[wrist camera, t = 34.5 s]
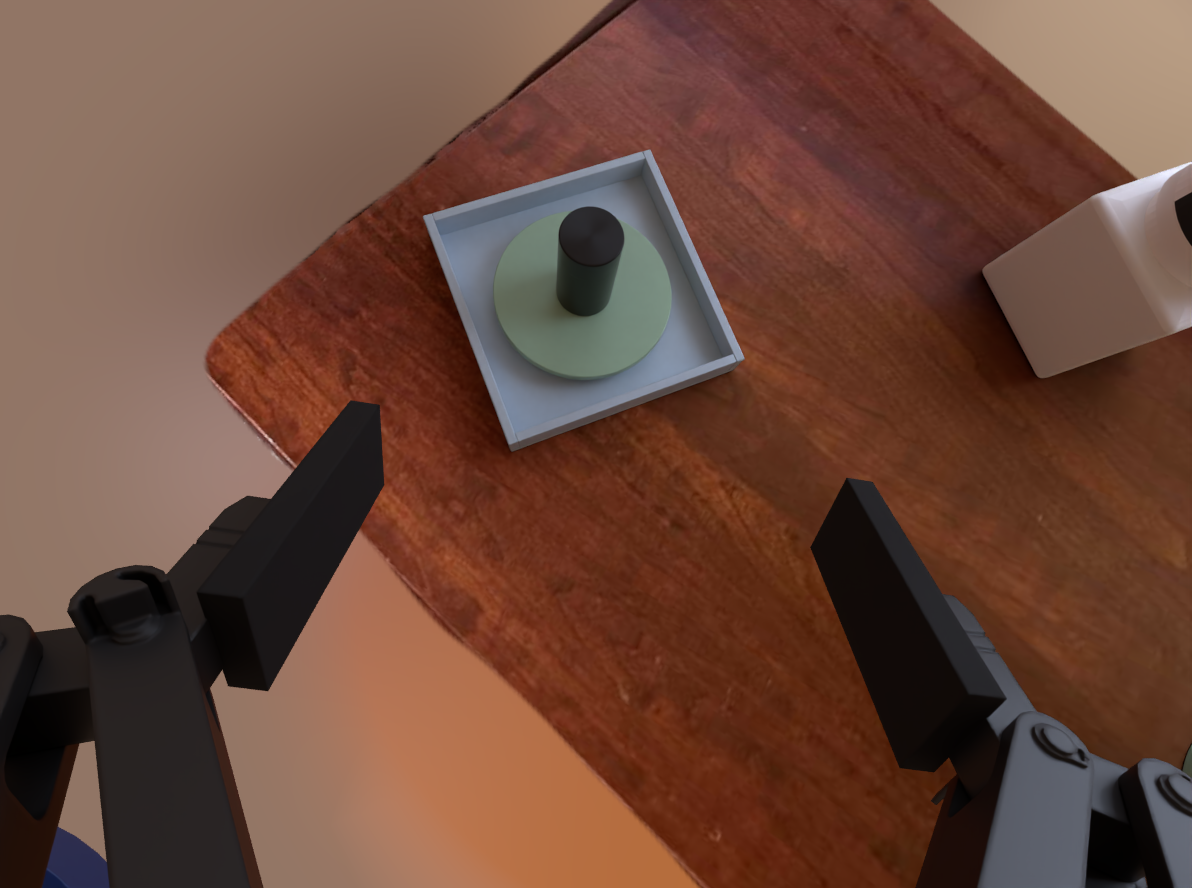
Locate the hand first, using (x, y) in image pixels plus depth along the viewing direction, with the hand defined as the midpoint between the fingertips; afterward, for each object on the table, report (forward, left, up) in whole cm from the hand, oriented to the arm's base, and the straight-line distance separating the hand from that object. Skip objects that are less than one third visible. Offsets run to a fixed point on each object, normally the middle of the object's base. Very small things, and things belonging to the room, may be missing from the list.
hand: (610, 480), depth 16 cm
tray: (+4, +11, -14) cm, 19 cm away
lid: (+4, +11, -13) cm, 18 cm away
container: (+32, +1, -15) cm, 36 cm away
